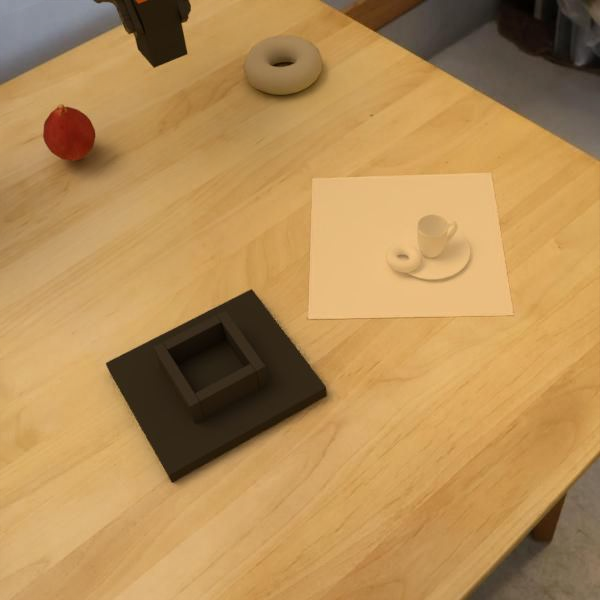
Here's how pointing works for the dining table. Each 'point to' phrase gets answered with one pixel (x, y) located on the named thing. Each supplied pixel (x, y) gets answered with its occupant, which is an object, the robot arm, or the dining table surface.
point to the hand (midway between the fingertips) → (162, 27)
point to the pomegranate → (68, 133)
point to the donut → (283, 77)
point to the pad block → (160, 31)
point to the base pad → (214, 383)
